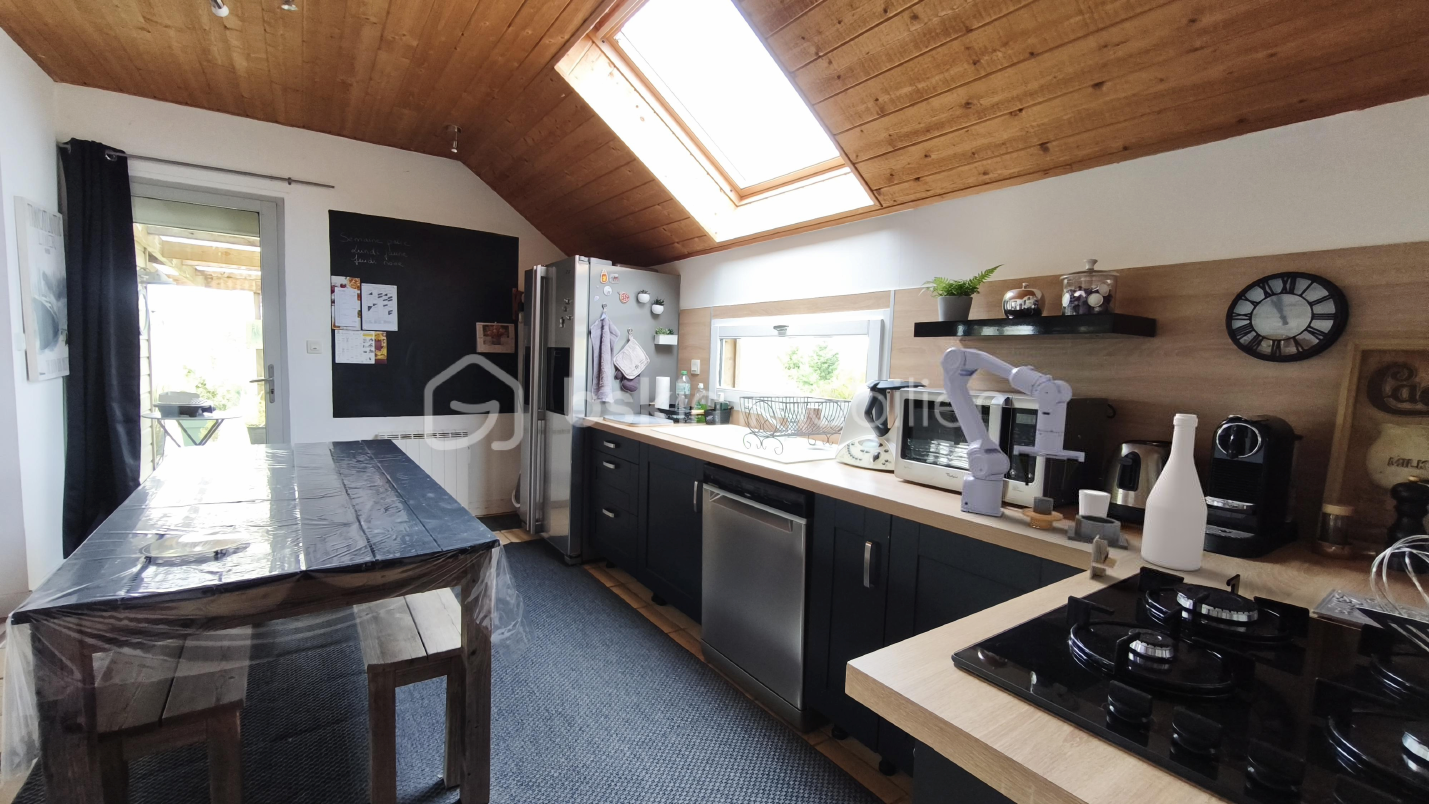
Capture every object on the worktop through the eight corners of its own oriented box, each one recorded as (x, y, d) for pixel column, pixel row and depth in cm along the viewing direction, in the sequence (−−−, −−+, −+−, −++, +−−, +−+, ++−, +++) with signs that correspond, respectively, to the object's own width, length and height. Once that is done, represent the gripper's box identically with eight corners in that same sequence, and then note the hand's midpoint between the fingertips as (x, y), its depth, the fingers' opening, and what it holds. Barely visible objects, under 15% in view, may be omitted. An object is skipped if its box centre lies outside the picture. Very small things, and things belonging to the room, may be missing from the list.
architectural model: (1115, 578, 108) (1119, 539, 107) (1110, 588, 103) (1115, 547, 102) (1093, 573, 110) (1097, 534, 110) (1087, 583, 105) (1092, 542, 104)
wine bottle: (1173, 572, 111) (1190, 416, 109) (1128, 555, 120) (1144, 411, 118) (1213, 571, 113) (1231, 417, 111) (1166, 555, 122) (1182, 412, 120)
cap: (1019, 526, 139) (1022, 498, 138) (1022, 519, 146) (1024, 492, 146) (1061, 534, 135) (1064, 505, 134) (1061, 525, 142) (1064, 498, 141)
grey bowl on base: (1067, 539, 130) (1069, 520, 130) (1067, 528, 140) (1069, 510, 139) (1127, 549, 125) (1129, 529, 124) (1123, 537, 134) (1125, 519, 134)
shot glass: (1098, 516, 153) (1101, 490, 153) (1114, 523, 147) (1116, 496, 146) (1071, 514, 154) (1073, 488, 153) (1085, 521, 147) (1087, 494, 147)
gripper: (1014, 429, 139) (1010, 485, 140) (1086, 435, 132) (1081, 495, 133) (1016, 427, 145) (1012, 481, 146) (1085, 433, 138) (1080, 489, 139)
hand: (1045, 487), depth 140 cm, fingers open, 7 cm apart
